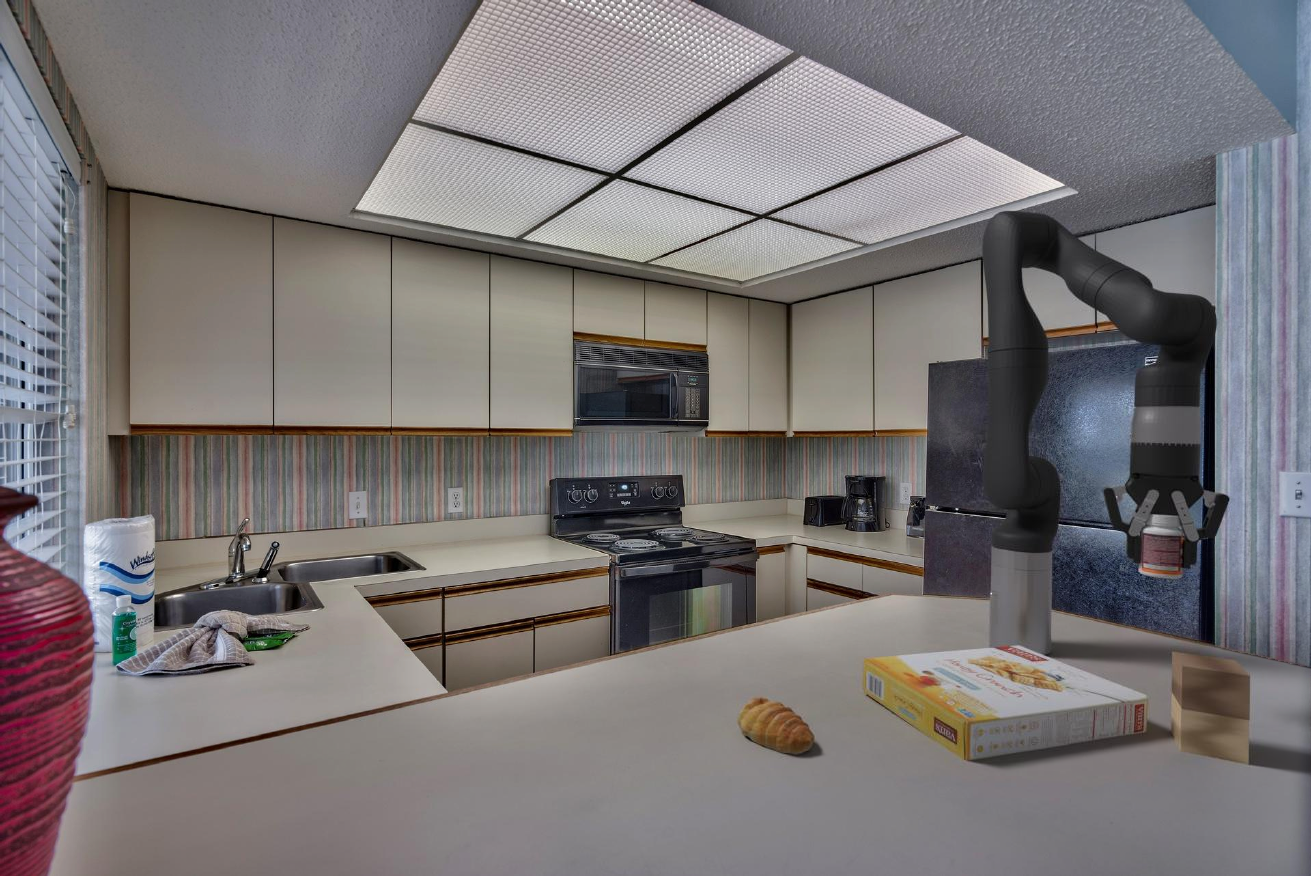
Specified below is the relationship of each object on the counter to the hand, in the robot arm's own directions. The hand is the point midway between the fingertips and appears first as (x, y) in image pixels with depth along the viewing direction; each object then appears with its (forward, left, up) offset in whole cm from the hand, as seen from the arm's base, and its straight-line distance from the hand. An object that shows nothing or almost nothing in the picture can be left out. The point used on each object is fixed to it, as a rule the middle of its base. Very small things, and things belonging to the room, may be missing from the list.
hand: (1160, 564), depth 89 cm
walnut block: (+3, -12, -14) cm, 19 cm away
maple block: (+3, -12, -19) cm, 23 cm away
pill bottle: (0, 0, -2) cm, 2 cm away
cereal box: (-19, -14, -20) cm, 31 cm away
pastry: (-42, -36, -20) cm, 59 cm away
